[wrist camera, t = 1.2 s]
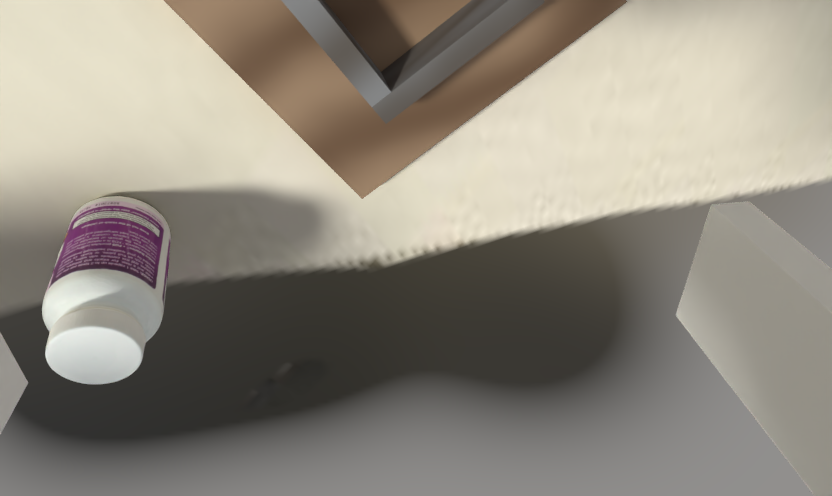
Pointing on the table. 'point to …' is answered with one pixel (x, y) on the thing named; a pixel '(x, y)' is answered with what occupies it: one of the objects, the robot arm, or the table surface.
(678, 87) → the table surface
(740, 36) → the table surface
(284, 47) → the socket block
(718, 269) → the robot arm
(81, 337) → the pill bottle
